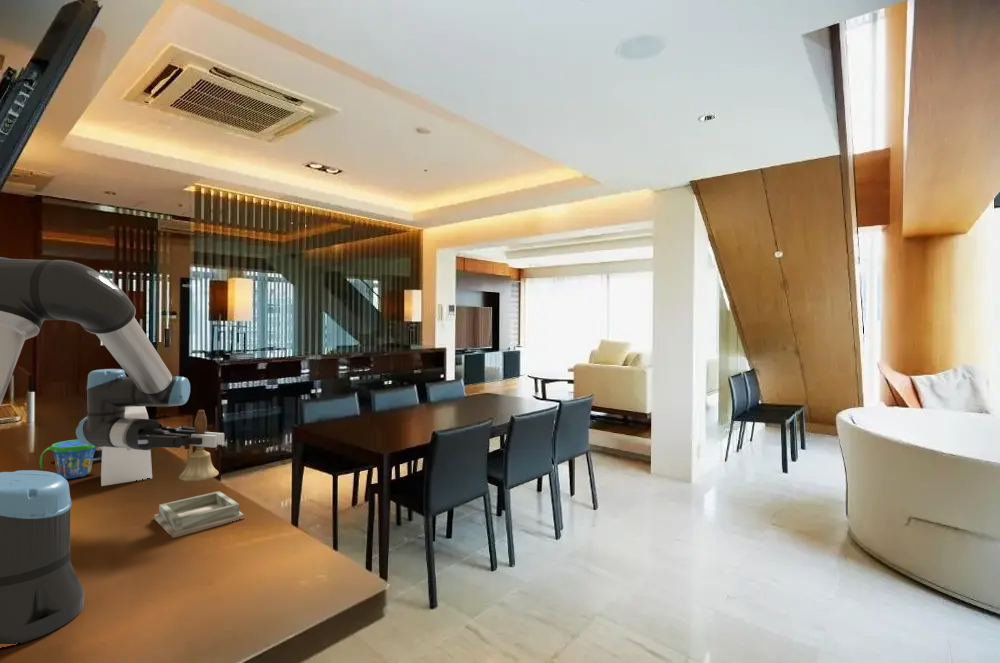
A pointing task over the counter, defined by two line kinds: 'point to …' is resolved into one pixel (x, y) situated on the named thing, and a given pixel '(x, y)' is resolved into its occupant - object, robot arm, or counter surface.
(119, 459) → the milk
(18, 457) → the counter surface
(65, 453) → the snack cup
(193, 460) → the hand bell
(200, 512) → the rectangular tray
